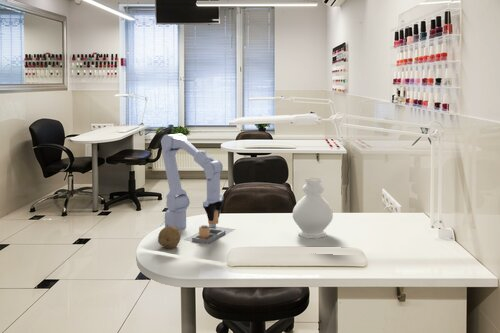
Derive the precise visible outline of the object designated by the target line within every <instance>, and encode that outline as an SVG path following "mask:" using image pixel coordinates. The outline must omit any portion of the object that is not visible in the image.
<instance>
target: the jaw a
mask: <svg viewBox="0 0 500 333" xmlns="http://www.w3.org/2000/svg"><path fill="white" fill-rule="evenodd" d="M198 232H199V238H201V239H209V238H210V227H209V225H207V224H204V225H203V224H202V225H200V226H199V227H198Z"/></svg>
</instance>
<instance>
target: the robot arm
mask: <svg viewBox="0 0 500 333" xmlns="http://www.w3.org/2000/svg"><path fill="white" fill-rule="evenodd" d="M160 144H161V153H162V154H161V155H162V159H163V164H164V168H165V173H166V178H167V183H168V189H169V191H168V192H167V194H166V196H165V197H166V202H165V205H166V208H167V210H166V211H165V213H164V228H165V227H167V226H174V227H176V228H177V229H178V230H182V229H186V228H187V210H188V207H189V205H190V199H189V198H190V197H189V196H188V194H187V191H185V190H184V189H183V188H182V184H181V178H180V174H179V168H178V165H177V164H178V163H177V159H176V154H177V153H178V151H179V150H181V149H183V151H185V152H187V153H188V154H189V155H190V156H192V157H193V160H194V162H195V163H197V164H198V165H199V166H200V167H201V168H203V173H204V174H205V178H206V198H205V199H204V200H203V201H202V207H203V209H204V211H205V213H206V216H207V220H209V221H213V219H214V211H215V209H216V210H218V219H219V218H220V215H221V211H222V207H223V205H224V203H225V202H224V195H223V194H221V176H220V175H221V173H222V171H223V170H224V168H223V163H222V162H221V161H220V160H219V159H214V158H213V157H212V156H210V155H208V154H207V152H206V151H205V150H198V149H197V148H196V146H194V145H193V144H192V143H191V142H190V141H189V140H188V138H187V136H186V135H185V134H183V133H181V132H179V133H172V134H165V135H163V136H162V138H161V140H160Z"/></svg>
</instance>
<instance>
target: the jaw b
mask: <svg viewBox="0 0 500 333" xmlns="http://www.w3.org/2000/svg"><path fill="white" fill-rule="evenodd" d="M207 220H208V219H207ZM209 224H216V225H218V224H219V218H218V210H216V209H215V211H214V219H213V221H209V220H208V225H209Z"/></svg>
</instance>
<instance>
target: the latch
mask: <svg viewBox="0 0 500 333" xmlns="http://www.w3.org/2000/svg"><path fill="white" fill-rule="evenodd" d="M208 226H209V227H210V228H214V227H217V224H209V223H208Z"/></svg>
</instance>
